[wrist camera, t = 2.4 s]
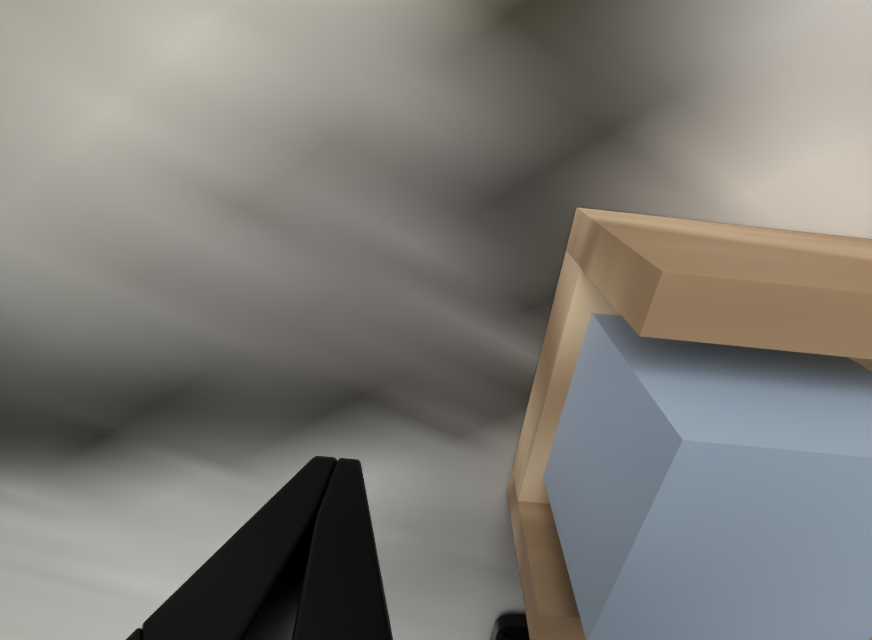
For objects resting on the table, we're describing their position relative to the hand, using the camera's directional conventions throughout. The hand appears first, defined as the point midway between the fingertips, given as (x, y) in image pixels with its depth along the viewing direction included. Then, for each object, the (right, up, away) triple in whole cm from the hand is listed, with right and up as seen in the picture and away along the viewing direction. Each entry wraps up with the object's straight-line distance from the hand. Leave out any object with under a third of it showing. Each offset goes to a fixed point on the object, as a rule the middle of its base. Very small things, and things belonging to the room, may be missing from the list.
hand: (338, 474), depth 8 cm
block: (+7, +1, +3) cm, 8 cm away
